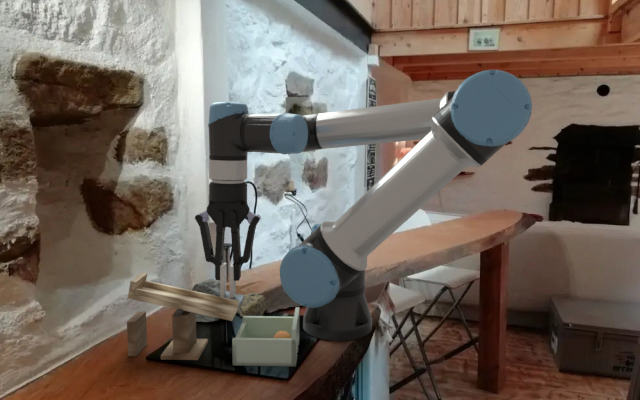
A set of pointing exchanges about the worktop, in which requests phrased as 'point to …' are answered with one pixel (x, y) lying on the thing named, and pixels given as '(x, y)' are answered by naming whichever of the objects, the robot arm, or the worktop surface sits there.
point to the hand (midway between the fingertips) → (228, 295)
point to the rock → (252, 305)
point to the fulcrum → (179, 347)
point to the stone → (208, 288)
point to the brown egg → (282, 334)
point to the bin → (266, 341)
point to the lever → (184, 299)
